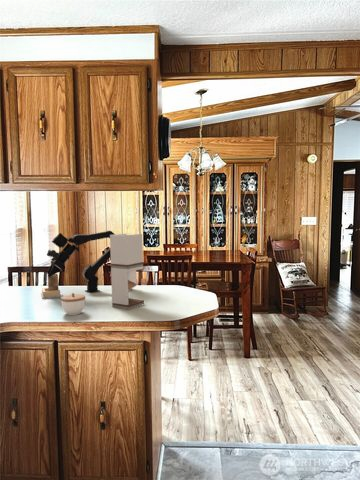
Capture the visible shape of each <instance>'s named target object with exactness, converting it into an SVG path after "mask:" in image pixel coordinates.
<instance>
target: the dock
mask: <svg viewBox="0 0 360 480" xmlns="http://www.w3.org/2000/svg"><path fill="white" fill-rule="evenodd" d="M41 292H42V293H40V295H41V298H42V299H43V300H44V299H53V298H61V297H63V296H64V295H63V293H62V291H61V289H59V287H58V290H53V291H48V287H43V288H42V289H41Z"/></svg>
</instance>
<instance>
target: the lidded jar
mask: <svg viewBox="0 0 360 480" xmlns="http://www.w3.org/2000/svg"><path fill="white" fill-rule="evenodd" d="M60 301H61V302H60V303H61V308H62V310H63V311H64V313H65V314H66V315H68V316H77V315H80V314H81V313H82V312H83V310H84V309H85V306H86V295H85V294H80V293H74V292H72V293H71V294H67V295H63V297H60Z"/></svg>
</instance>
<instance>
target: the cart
mask: <svg viewBox="0 0 360 480" xmlns="http://www.w3.org/2000/svg"><path fill="white" fill-rule="evenodd" d="M47 288H48V291H53V290H58V288H59V275H58V273H56V274H54V275H52V276H50V277H49V276H48V275H47Z"/></svg>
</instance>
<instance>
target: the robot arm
mask: <svg viewBox="0 0 360 480" xmlns="http://www.w3.org/2000/svg"><path fill="white" fill-rule="evenodd" d="M115 234H116V233H115V232H113V231H112V230H105V231H102V232H95V233H89V234H74V235H73V236H72V237H68V238H67V237H66V236H64V235H63V233H61V232H58V234H57V235H55V237H54V238H53V239H52V240H51V243H53V245H55V246H56V247H58V248H59V249H61V248H62V250H61V251H59V252H58V251H56V250H54V249H52V250H51V249H48V251H47V253H46V256H48V257H51V259H50V266H49V268H48V270H47V272H46V274H47V277H48V276H49V277H50V276H52V275H54V274H58V273H59V272H62V271H63V270H65V268H66V262H67V261H68V260H70V257H72V255H73V254H74V252H76V251H77V252H78V253H79V252H80V247H79V246H81V245H84V244H86V243H88V242H90V241H91V242H92V241H97V240H103V239H107V238H109V239H110V235H115ZM70 243H71V244H70ZM109 259H111V253H110V247H109V248H108V249H107V250H106V251H104V253H103V254H102V255H101V256H100V257H99V258H97V260H96V261H95V262H94V263H92V264H89V263H88V264H87V266H85V267H84V268H83V271H82V276H83V277H84V278H85V280H86V289H85V290H84V292H85V293H91V294H92V293H97V292H100V291H101V290H100V289H98V288H99V286H98V281H99V277H98V276H96V275H97V273H98V271H99V269H100V268H101V267H102V266H103V265H104V264H105V263H106V262H107V261H108V260H109Z"/></svg>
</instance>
